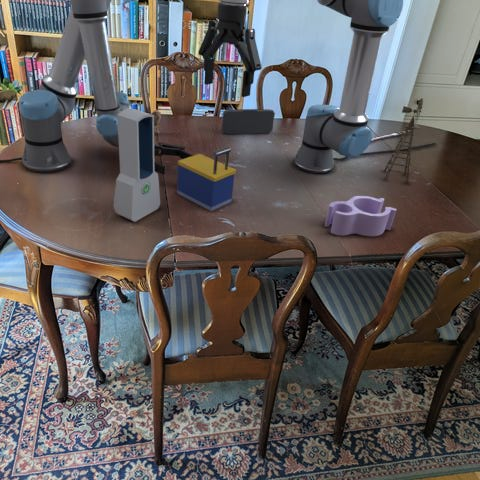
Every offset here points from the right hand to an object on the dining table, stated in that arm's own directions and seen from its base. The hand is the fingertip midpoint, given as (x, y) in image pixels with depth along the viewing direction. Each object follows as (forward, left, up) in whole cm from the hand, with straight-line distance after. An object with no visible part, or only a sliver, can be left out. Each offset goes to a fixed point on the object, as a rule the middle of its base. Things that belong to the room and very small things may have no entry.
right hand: (226, 89), depth 127 cm
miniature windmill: (-72, +17, -36) cm, 82 cm away
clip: (-28, +33, -36) cm, 56 cm away
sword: (-107, -10, -36) cm, 114 cm away
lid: (+1, -6, -26) cm, 26 cm away
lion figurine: (-11, -64, -36) cm, 74 cm away
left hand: (+2, -19, -29) cm, 35 cm away
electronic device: (+24, -8, -36) cm, 44 cm away
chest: (+1, -6, -36) cm, 36 cm away
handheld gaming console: (-50, -45, -36) cm, 76 cm away
